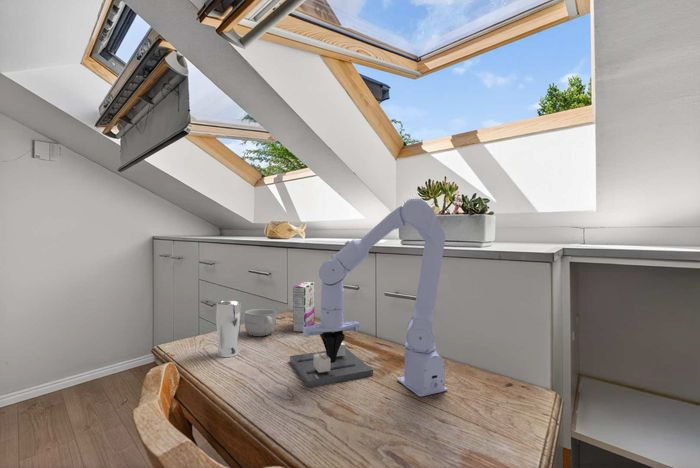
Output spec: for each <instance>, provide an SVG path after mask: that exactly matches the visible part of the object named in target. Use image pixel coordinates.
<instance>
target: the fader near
mask: <svg viewBox="0 0 700 468" xmlns="http://www.w3.org/2000/svg"><path fill="white" fill-rule="evenodd" d="M330 360H331V359H330V358H329V357H328V356H327V355H326V354H325V353H322V354H315V355H314V368H315V369H316V370H317V371H318V372H319V373H320V372H326V371H330Z"/></svg>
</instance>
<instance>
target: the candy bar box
mask: <svg viewBox="0 0 700 468" xmlns="http://www.w3.org/2000/svg"><path fill="white" fill-rule="evenodd" d="M292 308H293V309H292V314H293V315H292V319H293V320H292V326H293V327H292V330H293V332H294V331H299V332H298V333H303V327H307V326H312V325H316V324H315V282H314V281H302V282H301V283H299V284H298V283H297V284H296V285H294V286H293V287H292Z"/></svg>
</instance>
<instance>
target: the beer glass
mask: <svg viewBox="0 0 700 468" xmlns="http://www.w3.org/2000/svg"><path fill="white" fill-rule="evenodd" d="M215 311H216V312H215V325H216V331H217V336H218V349H217V354H216V355H217V356H218V357H219V358H223V359H224V358H232V357H236V356H238V355H240V348H239V336H240V330H241V325H242V302H241V301H239V300H232V299H231V300H230V299H229V300H221V301H218V302H217V303H216V310H215Z"/></svg>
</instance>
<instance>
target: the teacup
mask: <svg viewBox="0 0 700 468" xmlns="http://www.w3.org/2000/svg"><path fill="white" fill-rule="evenodd" d="M277 314H278V312H277V310H274V309H266V308H258V309H257V308H256V309H255V308H254V309H248V310H246V311H244V328H245V331H246V332H247V333H248V334H249V335H250V336H252V335H253V337H265V335H266V336H268V335H270V334H271V333H272V332H273V331H275V328H276V323H277Z"/></svg>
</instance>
